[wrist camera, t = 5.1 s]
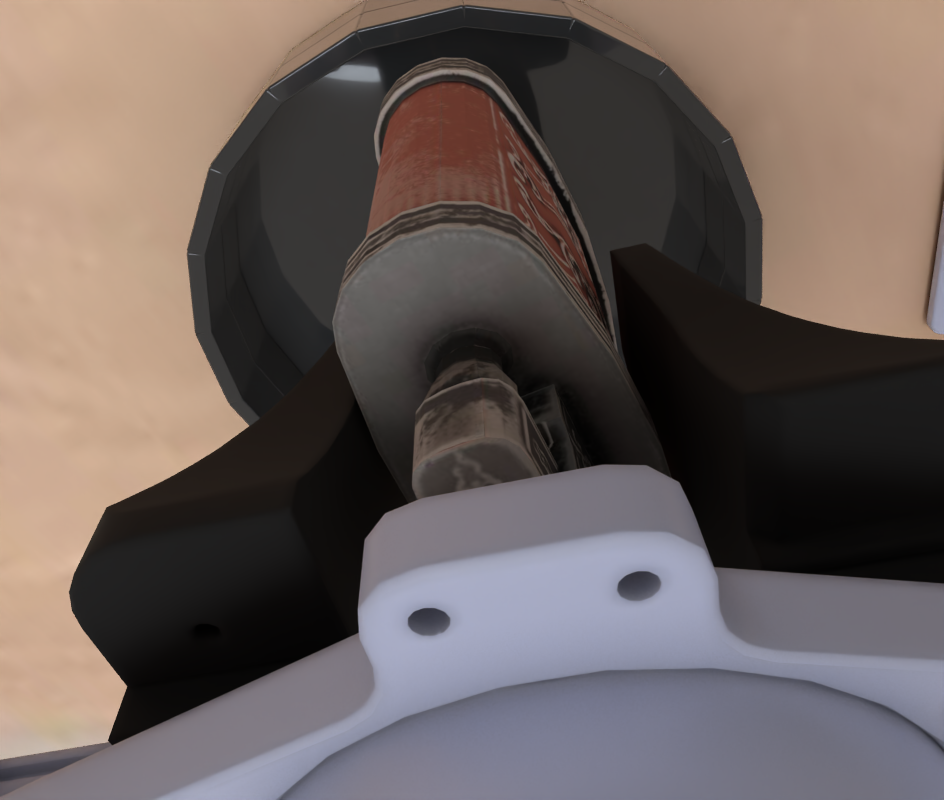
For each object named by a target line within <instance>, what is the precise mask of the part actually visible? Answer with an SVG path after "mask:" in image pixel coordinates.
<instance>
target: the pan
mask: <svg viewBox="0 0 944 800" xmlns="http://www.w3.org/2000/svg"><path fill="white" fill-rule="evenodd" d="M439 58H467V59H469V60H472V61H474V62H477V63H479V64H482V65H484V66H487V67H488V68H489V69H490V70H491V71H493V72H494V73H495V74H496V75H497V76H498V77H499V78H500V79H501V80H502V81H503V82H504V84H505V85H506V87H507V88H508V90H509V91H510V93H511V94H512V96H513V97H514V99H515V100H516V102H517V103H518V105H519V106H520V108H521V109H522V111H523V112H524V114H525V115H526V117H527V118H528V120H529V121H530V123H531V124H532V126H533V127H534V129H535V130H536V132H537V133H538V135H539V136H540V138H541V139H542V141H543V142H544V144H545V145H546V147H547V148H548V150H549V152H550V154H551V156H552V158H553V160H554V162H555V164H556V166H557V168H558V170H559V172H560V174H561V176H562V178H563V180H564V182H565V184H566V186H567V188H568V190H569V192H570V194H571V196H572V198H573V200H574V202H575V204H576V206H577V208H578V210H579V212H580V214H581V216H582V218H583V221H584V224H585V227H586V230H587V233H588V236H589V239H590V242H591V245H592V248H593V251H594V255H595V258H596V261H597V264H598V267H599V270H600V274H601V277H602V280H603V283H604V286H605V289H606V293H607V296H608V299H609V302H610V308H611V314H612V320H613V326H614V332H615V338H616V344H617V350H618V354H619V356H620V358H621V360H622V362H623V363H624V365H625V367H626V369H627V366H626V363H625V359H624V355H623V352H622V346H621V338H620V330H619V322H618V314H617V306H616V297H615V289H614V281H613V273H612V265H611V257H610V250H615V249H620V248H625V247H629V246H634V245H639V244H644V243H646V244H648V245H650V246H651V247H653V248H654V249H656V250H658V251H659V252H661V253H662V254H664V255H665V256H667V257H668V258H670V259H672V260H673V261H675V262H676V263H678V264H680V265H681V266H683V267H684V268H686V269H688V270H689V271H691V272H693V273H695V274H696V275H698V276H700V277H702V278H703V279H705V280H707V281H709V282H711V283H713V284H714V285H716V286H718V287H720V288H722V289H724V290H726V291H729V292H731V293H733V294H735V295H737V296H739V297H741V298H744V299H746V300H748V301H750V302H753V303H755V304H758V305H760V304H761V299H762V234H763V219H762V214H761V212H760V209H759V206H758V204H757V201H756V198H755V196H754V193H753V190H752V188H751V185H750V182H749V180H748V177H747V174H746V172H745V169H744V166H743V164H742V161H741V159H740V156H739V153H738V151H737V148H736V145H735V143H734V140H733V137H732V136H731V135H730V133H729V131H728V130H727V129H726V128H725V127H724V126H723V125H722V124H721V123H720V122H719V120H718V119H717V118H716V117H715V116H714V115H713V114H712V113H711V112H710V110H709V109H708V108H707V107H706V106H705V105H704V104H703V103H702V102H701V101H700V99H699V98H698V97H697V96H696V95H695V94H694V93H693V92H692V91H691V90H690V88H689V87H688V86H687V85H686V84H685V83H684V82H683V81H682V80H681V79H680V77H679V76H678V75H677V74H676V73H675V72H674V71H673V70H672V69H671V68H670V66H669V65H668V64H667V63H666V62H665V61H664V60H663V59H662V58H661V57H660V56H659V55H658V54H657V53H656V52H655V51H654V50H653V49H652V48H651V47H650V46H649V45H648V44H647V43H646V42H645V41H644V40H643V38H642V37H641V36H640V35H639V34H638V33H637V32H636V31H634V30H633V29H632V28H630V27H628V26H626V25H624V24H622V23H621V22H619V21H617V20H615V19H613V18H611V17H609V16H607V15H605V14H603V13H602V12H600V11H599V10H596V9H594V8H592V7H590V6H588V5H585V4H583V3H581V2H579V1H577V0H365V1H364V2H362V3H361V4H359V5H358V6H356V7H355V8H353V9H352V10H350V11H349V12H347V13H345V14H343V15H342V16H340V17H339V18H337V19H336V20H334V21H333V22H331V23H330V24H328V25H327V26H325V27H324V28H323V29H321V30H320V31H318V32H317V33H315V34H314V35H312V36H311V37H309V38H308V39H306V40H305V41H303V42H302V43H300V44H299V45H297V46H296V47H294V48H293V49H292V50H291V51H290V52H289V53H288V55H287V56H286V57H285V59H284V60H283V61H282V63H281V64H280V66H279V67H278V68H277V70H276V71H275V72H274V74H273V75H272V77H271V78H270V79H269V81H268V82H267V83H266V85H265V86H264V88H263V89H262V90H261V92H260V93H259V94H258V96H257V97H256V99H255V100H254V101H253V103H252V104H251V105H250V107H249V108H248V109H247V111H246V112H245V114H244V115H243V116H242V118H241V119H240V121H239V122H238V124H237V125H236V127H235V128H234V130H233V131H232V133H231V134H230V136H229V137H228V139H227V140H226V142H225V143H224V145H223V146H222V148H221V149H220V151H219V153H218V154H217V156H216V157H215V159H214V160H213V162H212V163H211V166H210V167H209V170H208V173H207V177H206V181H205V185H204V188H203V192H202V196H201V200H200V203H199V207H198V211H197V214H196V218H195V222H194V226H193V229H192V233H191V237H190V241H189V244H188V248H187V260H188V270H189V280H190V289H191V299H192V308H193V318H194V328H195V333H196V336H197V338H198V340H199V343H200V345H201V347H202V349H203V351H204V353H205V355H206V357H207V359H208V361H209V363H210V366H211V368H212V370H213V372H214V374H215V376H216V378H217V380H218V382H219V384H220V386H221V389H222V391H223V393H224V395H225V397H226V399H227V401H228V403H229V404H230V406H231V407H232V408H233V409H234V410H235V411H236V412H237V413H238V414H239V415H240V416H241V417H242V418H243V419H244V421H245V422H246V423H247V424H248V425H249V426H251V425H252V424H253V423H255V422H256V421H257V420H258V419H259V418H261V417H262V416H263V415H264V414H265V413H266V412H268V411H269V410H270V409H271V408H272V407H273V406H275V405H276V404H277V403H278V402H279V401H280V400H281V399H282V398H283V397H284V396H285V395H287V394H288V393H289V392H290V391H291V390H292V389H293V388H294V387H295V386H296V384H297V383H298V382H299V381H300V380H301V379H302V378H303V377H304V376H305V375H306V373H307V372H308V371H309V370H310V369H311V368H312V367H313V366H314V365H315V364H316V362H317V361H318V360H319V359H320V358H321V357H322V356H323V354H324V353H325V352H326V351H327V350H328V348H329V347H330V346H331V345H332V343H333V342H334V341H335V337H334V330H333V324H332V321H333V317H334V312H335V308H336V303H337V299H338V294H339V290H340V286H341V283H342V280H343V276H344V273H345V269H346V266H347V262H348V260H349V259H350V257H351V256H352V255H353V254H354V252H355V251H356V250H357V248H358V247H359V246H360V244H361V243H362V242H363V241H364V239H365V238H366V233H367V228H368V222H369V217H370V212H371V206H372V201H373V196H374V191H375V185H376V180H377V175H378V169H379V165H378V161H377V158H376V151H375V142H374V133H375V129H376V124H377V120H378V116H379V113H380V109H381V106H382V102H383V99H384V98H385V96H386V95H387V93H388V92H389V91H390V89H391V88H392V86H393V85H394V84H395V82H396V81H397V80H398V79H399V78H400V77H402V76H403V75H405V74H406V73H407V72H409V71H410V70H412V69H413V68H414V67H416V66H417V65H420V64H423V63H426V62H429V61H432V60H436V59H439ZM627 371H628V370H627Z"/></svg>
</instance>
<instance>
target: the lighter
mask: <svg viewBox="0 0 944 800" xmlns="http://www.w3.org/2000/svg"><path fill="white" fill-rule="evenodd" d="M374 142H375V151H376V158H377V161H378V165H379V169H378V175H377V180H376V185H375V191H374V196H373V201H372V206H371V212H370V217H369V222H368V228H367V233H366V238H365V239H364V241H363V242H362V243H361V244H360V246H359V247H358V248H357V250H356V251H355V252H354V254H353V255H352V256H351V257H350V259H349V260H348V262H347V266H346V269H345V273H344V276H343V280H342V283H341V286H340V290H339V294H338V299H337V303H336V308H335V312H334V317H333V321H332V324H333V330H334V337H335V343H336V350H337V353H338V355H339V358H340V360H341V363H342V365H343V368H344V370H345V372H346V375H347V377H348V380H349V382H350V385H351V387H352V389H353V392H354V394H355V397H356V399H357V402H358V404H359V406H360V409H361V411H362V414H363V416H364V419H365V421H366V423H367V426H368V428H369V431H370V433H371V436H372V438H373V440H374V443H375V445H376V448H377V450H378V452H379V454H380V455H381V457H382V459H383V460H384V462H385V464H386V466H387V467H388V469H389V471H390V472H391V474H392V476H393V478H394V479H395V481H396V483H397V484H398V486H399V488H400V490H401V491H402V493H403V495H404V496H405V498H406V500H407V502H408V503H411V502H414V501H416V500H419V499H421V498H425V497H431V496H436V495H441V494H447V493H452V492H458V491H463V490H468V489H474V488H479V487H485V486H490V485H495V484H501V483H506V482H512V481H517V480H522V479H528V478H533V477H539V476H544V475H549V474H555V473H560V472H566V471H571V470H576V469H582V468H587V467H593V466H598V465H647V466H649V467H651V468H653V469H655V470H657V471H658V472H660V473H662V474H664V475H666V476H668V477H670V478H671V474H670V471H669V468H668V465H667V461H666V458H665V455H664V452H663V449H662V446H661V443H660V440H659V437H658V434H657V431H656V428H655V426H654V423H653V420H652V417H651V415H650V413H649V411H648V409H647V407H646V405H645V403H644V401H643V399H642V398H641V396H640V394H639V392H638V390H637V388H636V386H635V384H634V382H633V380H632V379H631V377H630V375H629V373H628V371H627V369H626V367H625V365H624V363H623V362H622V360H621V358H620V356H619V354H618V350H617V344H616V338H615V332H614V326H613V320H612V314H611V308H610V302H609V299H608V296H607V293H606V289H605V286H604V283H603V280H602V277H601V274H600V270H599V267H598V264H597V261H596V258H595V255H594V251H593V248H592V245H591V242H590V239H589V236H588V233H587V230H586V227H585V224H584V221H583V218H582V216H581V214H580V212H579V210H578V208H577V206H576V204H575V202H574V200H573V198H572V196H571V194H570V192H569V190H568V188H567V186H566V184H565V182H564V180H563V178H562V176H561V174H560V172H559V170H558V168H557V166H556V164H555V162H554V160H553V158H552V156H551V154H550V152H549V150H548V148H547V147H546V145H545V144H544V142H543V141H542V139H541V138H540V136H539V135H538V133H537V132H536V130H535V129H534V127H533V126H532V124H531V123H530V121H529V120H528V118H527V117H526V115H525V114H524V112H523V111H522V109H521V108H520V106H519V105H518V103H517V102H516V100H515V99H514V97H513V96H512V94H511V93H510V91H509V90H508V88H507V87H506V85H505V84H504V82H503V81H502V80H501V79H500V78H499V77H498V76H497V75H496V74H495V73H494V72H493V71H491V70H490V69H489V68H488V67H487V66H484V65H482V64H479V63H477V62H474V61H472V60H469V59H467V58H439V59H436V60H432V61H429V62H426V63H423V64H420V65H417V66H416V67H414V68H413V69H412V70H410V71H409V72H407V73H406V74H405V75H403V76H402V77H400V78H399V79H398V80H397V81H396V82H395V84H394V85H393V86H392V88H391V89H390V91H389V92H388V93H387V95H386V96H385V98H384V99H383V102H382V106H381V109H380V113H379V116H378V120H377V124H376V129H375V133H374Z"/></svg>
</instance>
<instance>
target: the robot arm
mask: <svg viewBox="0 0 944 800" xmlns="http://www.w3.org/2000/svg"><path fill="white" fill-rule="evenodd" d="M610 257H611V265H612V273H613V281H614V289H615V297H616V306H617V314H618V322H619V330H620V338H621V346H622V352H623V355H624V359H625V363H626V366H627V370H628V373H629V375H630V377H631V379H632V380H633V382H634V384H635V386H636V388H637V390H638V392H639V394H640V396H641V398H642V399H643V401H644V403H645V405H646V407H647V409H648V411H649V413H650V415H651V417H652V420H653V423H654V426H655V428H656V431H657V434H658V437H659V440H660V443H661V446H662V449H663V452H664V455H665V458H666V461H667V465H668V468H669V471H670V474H671V477H672V478H670V477H668V476H666V475H664V474H662V473H660V472H658V471H657V470H655V469H653V468H651V467H649V466H647V465H598V466H593V467H587V468H582V469H576V470H571V471H566V472H560V473H555V474H549V475H544V476H539V477H533V478H528V479H522V480H517V481H512V482H506V483H501V484H495V485H490V486H485V487H479V488H474V489H468V490H463V491H458V492H452V493H447V494H441V495H436V496H431V497H425V498H421V499H419V500H416V501H414V502H411V503H408V502H407V500H406V498H405V496H404V495H403V493H402V491H401V490H400V488H399V486H398V484H397V483H396V481H395V479H394V478H393V476H392V474H391V472H390V471H389V469H388V467H387V466H386V464H385V462H384V460H383V459H382V457H381V455H380V454H379V452H378V450H377V448H376V445H375V443H374V440H373V438H372V436H371V433H370V431H369V428H368V426H367V423H366V421H365V419H364V416H363V414H362V411H361V409H360V406H359V404H358V402H357V399H356V397H355V394H354V392H353V389H352V387H351V385H350V382H349V380H348V377H347V375H346V372H345V370H344V368H343V365H342V363H341V360H340V358H339V355H338V353H337V350H336V343H335V341H334V342H333V343H332V345H331V346H330V347H329V348H328V350H327V351H326V352H325V353H324V354H323V356H322V357H321V358H320V359H319V360H318V361H317V362H316V364H315V365H314V366H313V367H312V368H311V369H310V370H309V371H308V372H307V373H306V375H305V376H304V377H303V378H302V379H301V380H300V381H299V382H298V383H297V384H296V386H295V387H294V388H293V389H292V390H291V391H290V392H289V393H288V394H287V395H285V396H284V397H283V398H282V399H281V400H280V401H279V402H278V403H277V404H276V405H275V406H273V407H272V408H271V409H270V410H269V411H268V412H266V413H265V414H264V415H263V416H262V417H261V418H259V419H258V420H257V421H256V422H255V423H253V424H252V425H251V426H249V427H248V428H246V429H245V430H244V431H242V432H241V433H239V434H238V435H237V436H235V437H234V438H233V439H231V440H230V441H228V442H227V443H226V444H224V445H223V446H222V447H220V448H219V449H217V450H216V451H214V452H213V453H211V454H209V455H208V456H206V457H204V458H203V459H201V460H200V461H198V462H196V463H195V464H193V465H191V466H189V467H188V468H186V469H184V470H182V471H181V472H179V473H177V474H175V475H174V476H172V477H170V478H168V479H166V480H164V481H162V482H160V483H158V484H156V485H154V486H152V487H150V488H148V489H146V490H143V491H141V492H139V493H137V494H135V495H133V496H131V497H129V498H127V499H124V500H122V501H120V502H118V503H116V504H113V505H111V506H109V507H107V508H106V510H105V512H104V514H103V516H102V518H101V520H100V522H99V524H98V526H97V528H96V530H95V532H94V534H93V536H92V538H91V540H90V542H89V544H88V546H87V549H86V551H85V553H84V555H83V557H82V559H81V561H80V563H79V565H78V567H77V569H76V571H75V573H74V576H73V580H72V584H71V587H70V591H69V594H70V601H71V607H72V611H73V613H74V615H75V617H76V619H77V620H78V622H79V624H80V626H81V627H82V629H83V630H84V632H85V633H86V634H87V635H88V637H89V638H90V639H91V640H92V642H93V643H94V644H95V646H96V647H97V648H98V649H99V651H100V652H101V653H102V655H103V656H104V657H105V658H106V660H107V661H108V662H109V664H110V665H111V666H112V667H113V669H114V670H115V671H116V673H117V674H118V675H119V676H120V678H121V679H122V680H123V681H124V683H125V684H126V685H127V689H126V692H125V695H124V697H123V700H122V703H121V706H120V709H119V711H118V714H117V717H116V720H115V722H114V725H113V728H112V731H111V734H110V736H109V739H108V741H109V742H107V743H101V744H95V745H89V746H83V747H76V748H70V749H64V750H58V751H52V752H45V753H39V754H33V755H27V756H21V757H15V758H8V759H2V760H0V800H944V340H932V339H913V338H901V337H893V336H885V335H878V334H870V333H863V332H857V331H852V330H846V329H841V328H836V327H832V326H828V325H823V324H819V323H815V322H811V321H806V320H803V319H799V318H796V317H792V316H789V315H786V314H783V313H780V312H778V311H775V310H772V309H769V308H766V307H763V306H760V305H758V304H755V303H753V302H750V301H748V300H746V299H744V298H741V297H739V296H737V295H735V294H733V293H731V292H729V291H726V290H724V289H722V288H720V287H718V286H716V285H714V284H713V283H711V282H709V281H707V280H705V279H703V278H702V277H700V276H698V275H696V274H695V273H693V272H691V271H689V270H688V269H686V268H684V267H683V266H681V265H680V264H678V263H676V262H675V261H673V260H672V259H670V258H668V257H667V256H665V255H664V254H662V253H661V252H659V251H658V250H656V249H654V248H653V247H651V246H650V245H648V244H646V243H644V244H639V245H634V246H629V247H625V248H620V249H615V250H610ZM927 325H928V326H929V327H930V328H931V329H932V330H933V331H934V332H935V333H937V334H944V203H943V210H942V217H941V224H940V231H939V238H938V244H937V251H936V258H935V265H934V272H933V279H932V286H931V293H930V300H929V307H928V314H927Z"/></svg>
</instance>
